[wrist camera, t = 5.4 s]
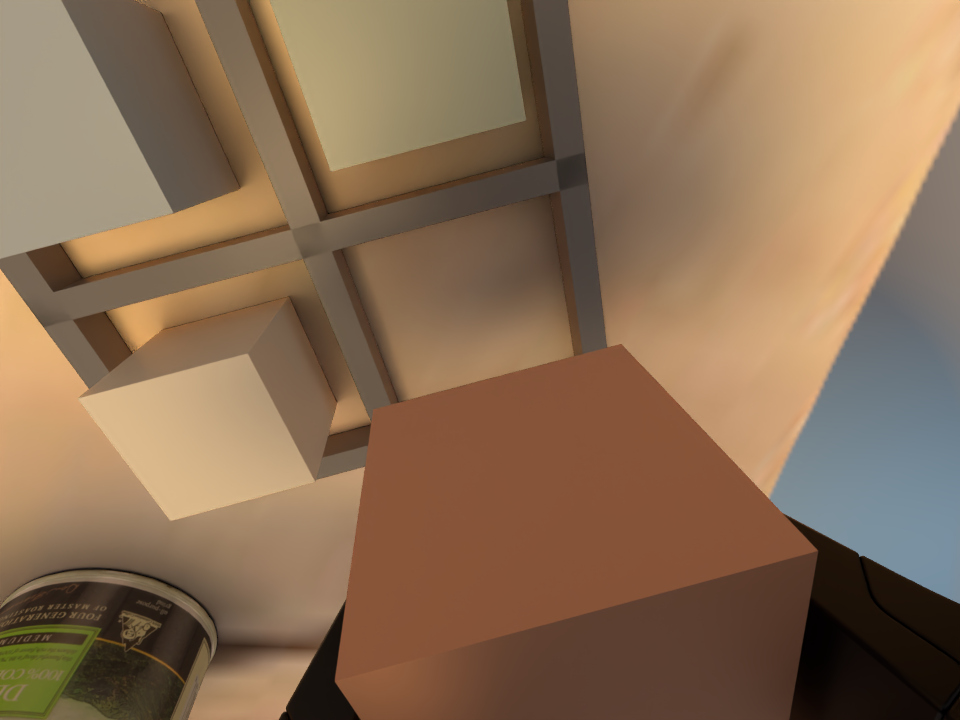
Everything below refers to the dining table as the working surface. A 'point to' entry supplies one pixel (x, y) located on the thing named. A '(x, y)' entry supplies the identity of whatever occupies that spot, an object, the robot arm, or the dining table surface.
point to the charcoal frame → (311, 231)
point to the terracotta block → (567, 559)
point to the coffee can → (102, 648)
